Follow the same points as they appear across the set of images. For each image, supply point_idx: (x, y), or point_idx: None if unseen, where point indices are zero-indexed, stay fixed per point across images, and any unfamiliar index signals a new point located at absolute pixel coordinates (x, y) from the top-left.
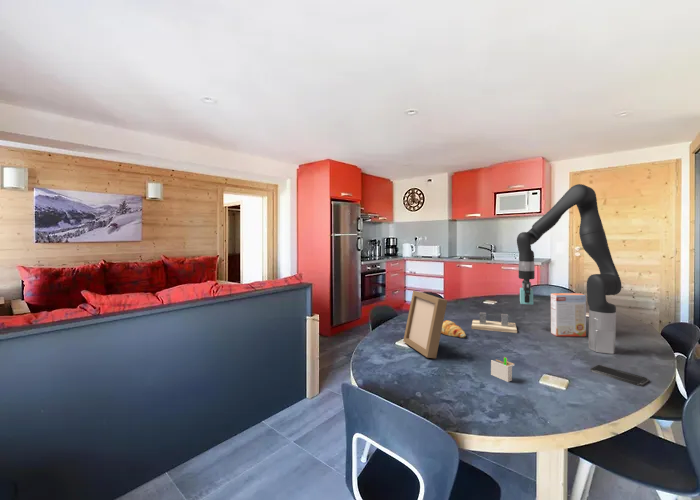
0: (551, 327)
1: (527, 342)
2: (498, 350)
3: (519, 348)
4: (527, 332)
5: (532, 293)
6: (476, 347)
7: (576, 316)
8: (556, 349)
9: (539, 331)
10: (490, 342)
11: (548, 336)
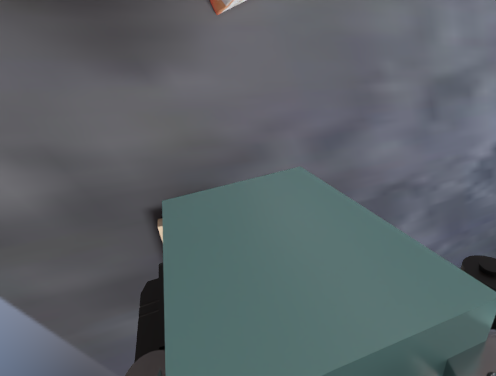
0: (234, 2)
1: (404, 125)
2: (485, 192)
3: (466, 142)
4: (260, 143)
5: (412, 252)
6: (468, 244)
7: None
8: (464, 8)
9: (207, 85)
10: (426, 230)
11: (289, 34)
